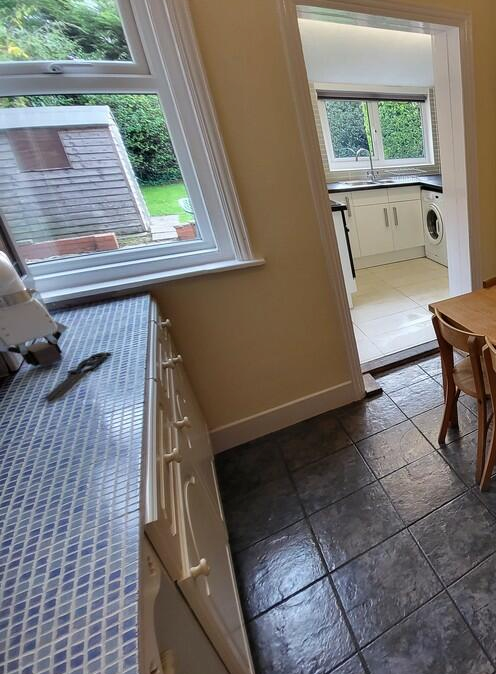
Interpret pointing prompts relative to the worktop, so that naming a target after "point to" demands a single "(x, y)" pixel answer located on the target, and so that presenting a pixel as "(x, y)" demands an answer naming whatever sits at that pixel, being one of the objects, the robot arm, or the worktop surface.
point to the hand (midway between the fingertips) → (46, 360)
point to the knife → (62, 392)
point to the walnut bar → (44, 353)
